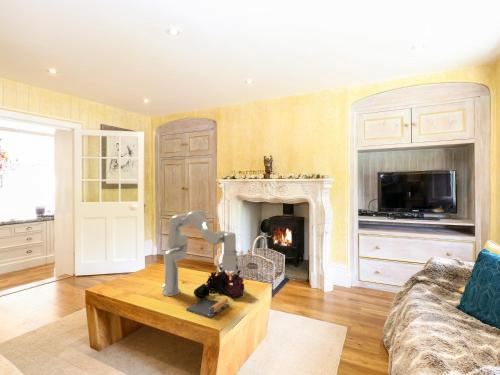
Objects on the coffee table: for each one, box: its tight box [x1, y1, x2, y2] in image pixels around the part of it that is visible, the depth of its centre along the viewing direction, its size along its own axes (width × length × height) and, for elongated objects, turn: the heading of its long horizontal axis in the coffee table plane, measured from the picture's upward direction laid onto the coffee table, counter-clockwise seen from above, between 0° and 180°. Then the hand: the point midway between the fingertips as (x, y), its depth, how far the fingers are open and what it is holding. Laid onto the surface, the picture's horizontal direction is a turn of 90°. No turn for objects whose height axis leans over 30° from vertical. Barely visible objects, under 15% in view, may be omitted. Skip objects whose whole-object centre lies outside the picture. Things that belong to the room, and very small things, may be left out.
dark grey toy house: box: [193, 282, 211, 300], centre depth 185 cm, size 10×7×7 cm
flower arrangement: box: [205, 270, 245, 300], centre depth 192 cm, size 31×20×15 cm, turn 65°
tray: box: [186, 297, 229, 319], centre depth 167 cm, size 20×18×2 cm
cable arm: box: [209, 297, 229, 314], centre depth 163 cm, size 18×3×3 cm, turn 152°
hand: (230, 279), depth 164 cm, fingers open, 9 cm apart
